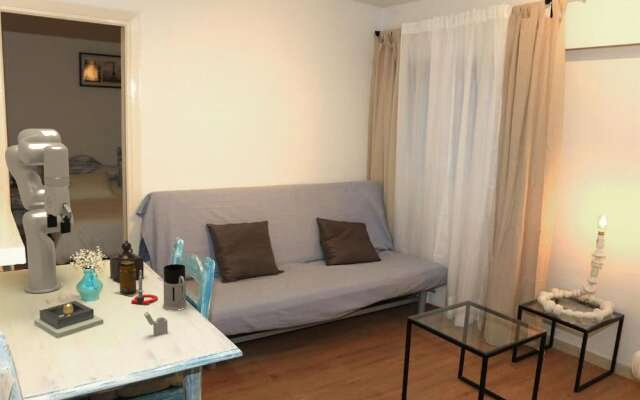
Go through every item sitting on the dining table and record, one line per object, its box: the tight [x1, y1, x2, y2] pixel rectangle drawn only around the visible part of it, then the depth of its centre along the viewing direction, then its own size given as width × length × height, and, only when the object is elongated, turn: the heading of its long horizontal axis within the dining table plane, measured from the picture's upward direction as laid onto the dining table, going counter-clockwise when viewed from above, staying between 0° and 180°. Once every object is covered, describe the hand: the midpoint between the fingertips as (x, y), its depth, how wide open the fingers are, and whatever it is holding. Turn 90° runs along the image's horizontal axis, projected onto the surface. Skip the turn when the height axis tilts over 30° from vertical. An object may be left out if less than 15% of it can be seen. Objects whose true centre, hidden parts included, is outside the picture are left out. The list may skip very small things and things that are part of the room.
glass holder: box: [162, 263, 188, 311], centre depth 183 cm, size 9×14×15 cm, turn 34°
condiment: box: [114, 261, 145, 297], centre depth 198 cm, size 7×8×12 cm
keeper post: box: [63, 302, 74, 316], centre depth 168 cm, size 3×3×6 cm
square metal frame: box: [38, 300, 95, 329], centre depth 168 cm, size 12×12×3 cm
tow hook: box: [130, 270, 159, 306], centre depth 190 cm, size 8×13×9 cm
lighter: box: [143, 311, 169, 336], centre depth 162 cm, size 7×2×8 cm, turn 128°
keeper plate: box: [33, 312, 104, 339], centre depth 168 cm, size 16×15×2 cm
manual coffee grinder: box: [109, 240, 145, 284], centre depth 212 cm, size 16×11×18 cm
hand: (58, 230), depth 176 cm, fingers open, 9 cm apart
